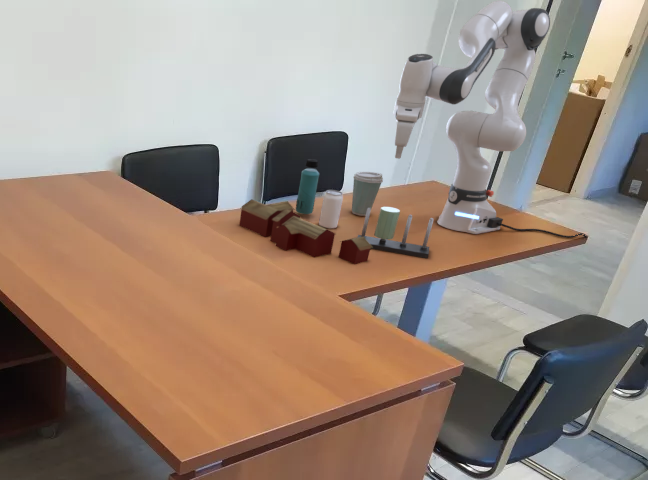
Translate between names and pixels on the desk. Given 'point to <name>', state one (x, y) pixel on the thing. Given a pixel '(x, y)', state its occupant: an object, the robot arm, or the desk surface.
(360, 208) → the disposable coffee cup
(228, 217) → the desk surface
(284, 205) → the toy houses
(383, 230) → the cup
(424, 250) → the dish rack
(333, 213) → the can
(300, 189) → the beverage bottle
